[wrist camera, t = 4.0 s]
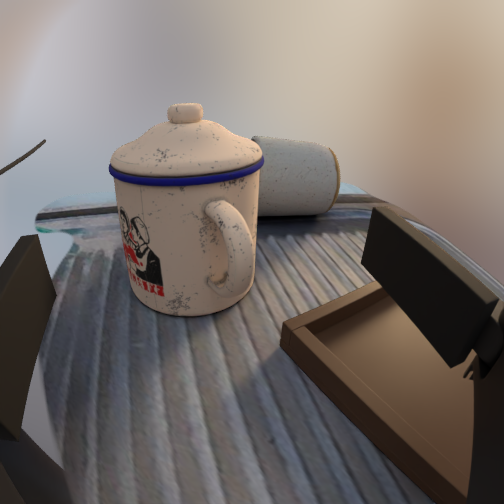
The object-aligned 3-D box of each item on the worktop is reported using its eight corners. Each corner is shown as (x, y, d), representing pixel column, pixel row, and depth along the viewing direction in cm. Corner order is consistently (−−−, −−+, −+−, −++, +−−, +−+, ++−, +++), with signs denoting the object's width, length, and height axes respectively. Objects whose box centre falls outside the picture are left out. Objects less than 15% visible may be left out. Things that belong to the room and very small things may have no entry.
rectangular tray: (279, 345, 17) (282, 321, 16) (422, 272, 24) (428, 253, 23) (468, 533, 7) (493, 521, 6) (556, 369, 13) (569, 350, 13)
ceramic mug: (339, 226, 30) (350, 147, 27) (255, 230, 29) (259, 144, 25) (303, 190, 39) (308, 128, 36) (237, 191, 38) (238, 126, 34)
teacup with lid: (118, 261, 24) (99, 108, 18) (222, 236, 28) (224, 97, 22) (163, 377, 15) (124, 130, 9) (310, 322, 19) (341, 119, 13)
